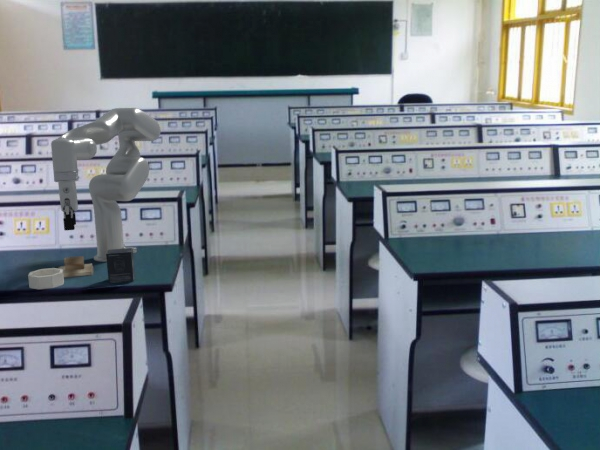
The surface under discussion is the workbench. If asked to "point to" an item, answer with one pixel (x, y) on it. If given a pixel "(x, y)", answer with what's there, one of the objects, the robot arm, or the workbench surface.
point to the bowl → (46, 278)
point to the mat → (85, 275)
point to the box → (120, 265)
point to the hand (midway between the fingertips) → (70, 227)
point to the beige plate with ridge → (76, 267)
